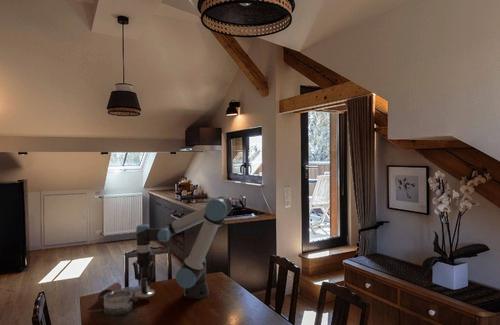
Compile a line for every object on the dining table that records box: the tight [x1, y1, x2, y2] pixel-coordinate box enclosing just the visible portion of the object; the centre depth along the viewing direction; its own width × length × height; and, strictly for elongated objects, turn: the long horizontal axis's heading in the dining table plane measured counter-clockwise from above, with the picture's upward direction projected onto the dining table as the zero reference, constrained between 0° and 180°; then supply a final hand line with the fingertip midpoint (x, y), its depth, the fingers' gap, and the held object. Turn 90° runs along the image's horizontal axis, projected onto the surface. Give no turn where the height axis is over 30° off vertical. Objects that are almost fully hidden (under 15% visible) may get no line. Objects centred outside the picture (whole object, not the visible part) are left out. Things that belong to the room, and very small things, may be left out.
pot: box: [99, 289, 138, 317], centre depth 190 cm, size 21×15×8 cm
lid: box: [134, 277, 156, 299], centre depth 202 cm, size 11×11×9 cm
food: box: [97, 282, 122, 306], centre depth 206 cm, size 21×9×9 cm, turn 10°
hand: (144, 291), depth 202 cm, fingers closed on lid, 3 cm apart
